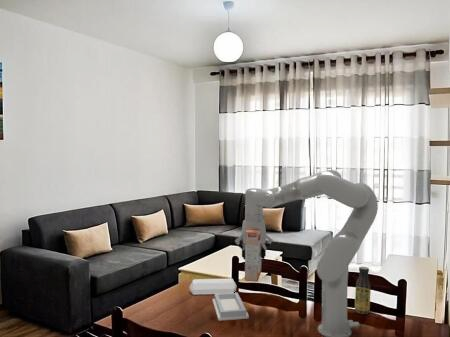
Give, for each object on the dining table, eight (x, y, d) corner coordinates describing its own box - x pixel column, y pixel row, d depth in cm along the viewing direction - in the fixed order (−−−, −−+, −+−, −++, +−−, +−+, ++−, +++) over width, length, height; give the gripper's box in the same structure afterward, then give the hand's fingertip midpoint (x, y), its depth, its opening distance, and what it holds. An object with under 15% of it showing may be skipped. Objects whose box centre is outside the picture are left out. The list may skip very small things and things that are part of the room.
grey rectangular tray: (239, 299, 192) (239, 292, 191) (248, 318, 170) (248, 310, 170) (212, 301, 190) (212, 293, 190) (218, 320, 168) (218, 312, 168)
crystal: (188, 289, 196) (237, 288, 197) (189, 278, 202) (236, 277, 203) (189, 299, 200) (237, 298, 201) (189, 288, 206) (236, 287, 207)
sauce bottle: (353, 313, 174) (353, 268, 173) (356, 308, 179) (356, 264, 179) (369, 316, 171) (369, 270, 170) (371, 311, 176) (371, 266, 176)
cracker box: (258, 282, 164) (259, 231, 163) (244, 281, 165) (244, 231, 164) (262, 272, 178) (262, 225, 176) (248, 271, 179) (249, 224, 178)
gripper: (271, 215, 175) (271, 255, 176) (232, 216, 172) (232, 256, 173) (276, 218, 168) (275, 260, 168) (235, 219, 165) (235, 261, 166)
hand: (253, 258), depth 171 cm, fingers closed on cracker box, 7 cm apart
